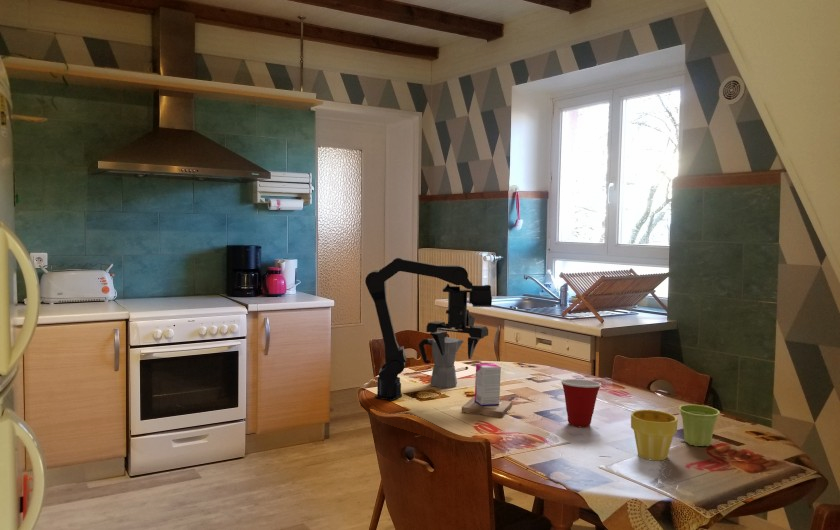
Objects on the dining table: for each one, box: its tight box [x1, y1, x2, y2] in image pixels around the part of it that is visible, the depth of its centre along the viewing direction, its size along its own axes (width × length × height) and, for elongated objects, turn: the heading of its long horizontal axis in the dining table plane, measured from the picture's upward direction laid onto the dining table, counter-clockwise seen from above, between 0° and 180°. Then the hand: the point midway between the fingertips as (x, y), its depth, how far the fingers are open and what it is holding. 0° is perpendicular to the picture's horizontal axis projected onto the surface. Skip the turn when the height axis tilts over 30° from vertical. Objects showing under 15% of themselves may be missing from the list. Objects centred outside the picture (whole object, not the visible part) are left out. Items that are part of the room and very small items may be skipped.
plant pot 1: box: [630, 409, 679, 461], centre depth 159 cm, size 10×10×10 cm
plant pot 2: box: [678, 404, 721, 447], centre depth 169 cm, size 9×9×9 cm
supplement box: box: [474, 362, 502, 407], centre depth 195 cm, size 6×6×12 cm
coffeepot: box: [418, 331, 465, 389], centre depth 223 cm, size 15×9×18 cm, turn 103°
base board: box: [461, 396, 513, 418], centre depth 195 cm, size 12×12×2 cm
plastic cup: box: [560, 378, 602, 428], centre depth 182 cm, size 11×11×12 cm
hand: (456, 357), depth 205 cm, fingers open, 9 cm apart
